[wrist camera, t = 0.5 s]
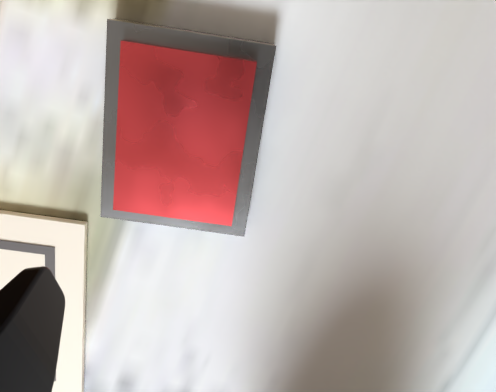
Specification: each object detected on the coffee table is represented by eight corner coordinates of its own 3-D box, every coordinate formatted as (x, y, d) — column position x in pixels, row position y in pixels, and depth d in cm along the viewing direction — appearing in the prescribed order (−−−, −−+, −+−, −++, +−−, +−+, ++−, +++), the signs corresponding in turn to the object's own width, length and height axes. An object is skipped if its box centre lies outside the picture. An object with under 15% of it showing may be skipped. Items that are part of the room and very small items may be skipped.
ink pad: (244, 225, 24) (244, 241, 22) (107, 206, 23) (97, 221, 22) (274, 43, 20) (276, 47, 19) (115, 18, 20) (103, 19, 18)
